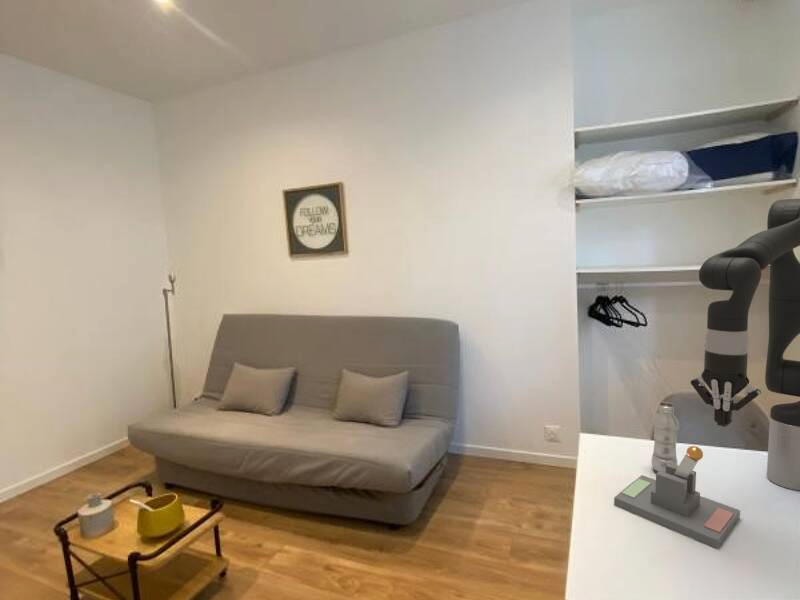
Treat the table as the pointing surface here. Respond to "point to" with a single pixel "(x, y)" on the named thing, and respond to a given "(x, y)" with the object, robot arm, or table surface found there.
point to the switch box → (679, 506)
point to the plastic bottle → (664, 437)
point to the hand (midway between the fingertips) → (722, 424)
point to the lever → (688, 462)
